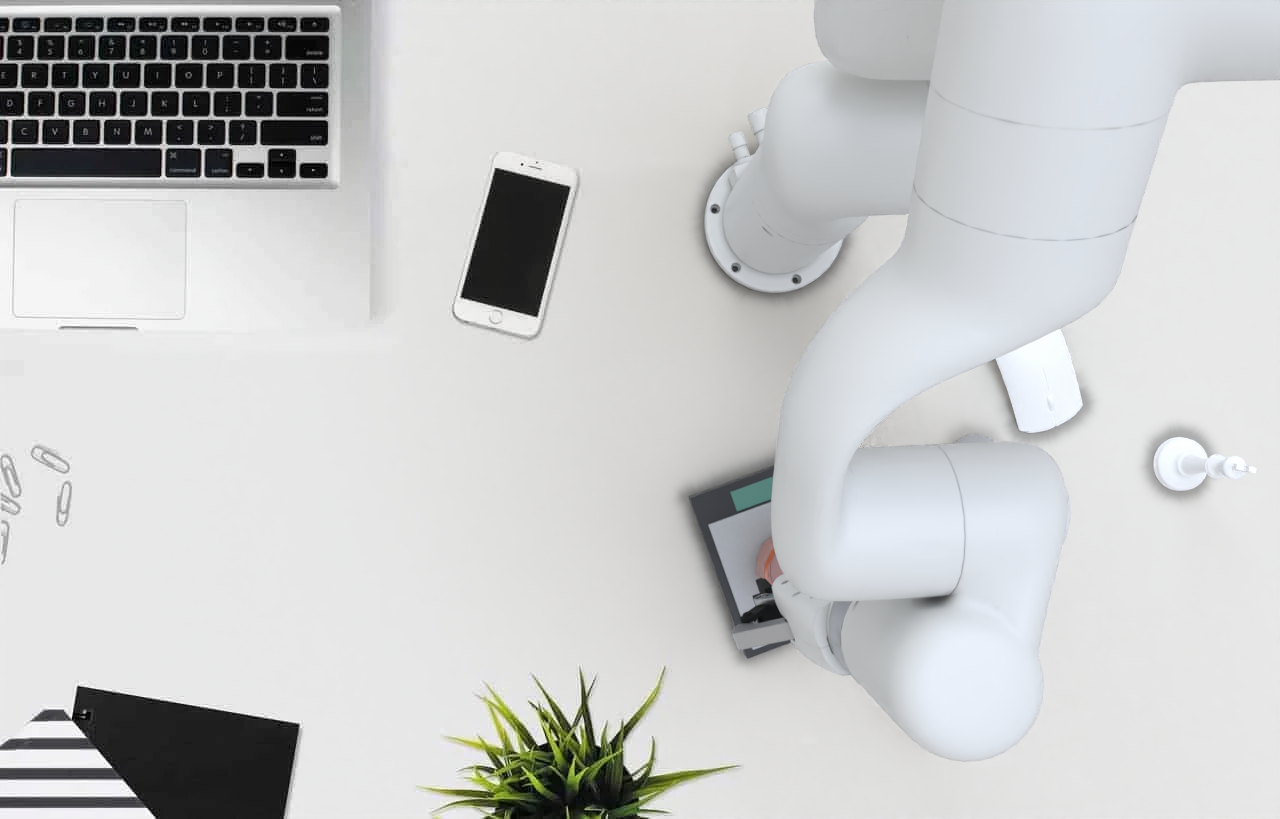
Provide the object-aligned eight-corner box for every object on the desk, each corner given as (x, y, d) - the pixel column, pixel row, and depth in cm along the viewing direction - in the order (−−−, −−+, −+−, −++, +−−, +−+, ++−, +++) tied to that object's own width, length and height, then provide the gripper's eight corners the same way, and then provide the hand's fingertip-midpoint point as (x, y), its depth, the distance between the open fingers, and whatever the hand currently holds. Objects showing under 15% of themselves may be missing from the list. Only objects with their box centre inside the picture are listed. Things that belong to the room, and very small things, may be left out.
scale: (688, 496, 89) (690, 498, 87) (823, 447, 90) (829, 448, 88) (744, 654, 89) (748, 660, 87) (879, 604, 90) (886, 609, 88)
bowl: (744, 543, 87) (752, 550, 83) (815, 517, 88) (828, 522, 83) (769, 615, 87) (780, 626, 83) (841, 589, 88) (855, 598, 83)
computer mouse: (1022, 440, 91) (1033, 441, 88) (970, 319, 91) (980, 316, 88) (1088, 411, 91) (1101, 411, 89) (1037, 290, 91) (1049, 287, 89)
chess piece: (1199, 495, 92) (1274, 504, 82) (1148, 484, 91) (1217, 492, 81) (1209, 442, 92) (1285, 445, 82) (1158, 432, 91) (1228, 433, 81)
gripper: (1011, 519, 59) (915, 490, 76) (736, 620, 58) (701, 568, 75) (1052, 638, 59) (947, 582, 76) (778, 740, 58) (734, 661, 75)
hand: (825, 575), depth 76 cm, fingers open, 9 cm apart
